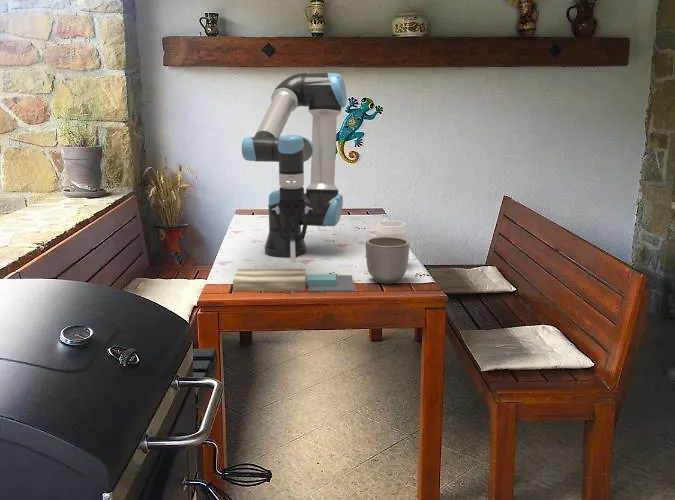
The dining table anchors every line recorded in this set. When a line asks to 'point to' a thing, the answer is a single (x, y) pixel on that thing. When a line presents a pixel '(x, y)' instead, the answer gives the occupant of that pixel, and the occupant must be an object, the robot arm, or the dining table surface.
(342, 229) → the dining table surface
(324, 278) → the teal foam pad
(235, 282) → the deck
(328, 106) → the robot arm
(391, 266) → the planter
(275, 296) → the dining table surface
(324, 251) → the dining table surface
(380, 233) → the white vase
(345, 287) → the mat
